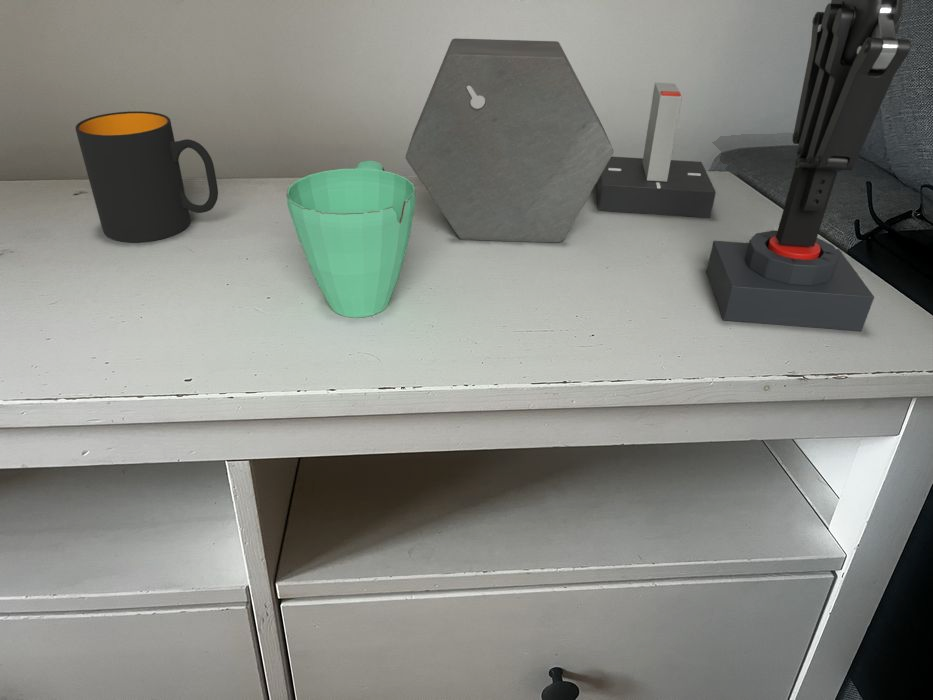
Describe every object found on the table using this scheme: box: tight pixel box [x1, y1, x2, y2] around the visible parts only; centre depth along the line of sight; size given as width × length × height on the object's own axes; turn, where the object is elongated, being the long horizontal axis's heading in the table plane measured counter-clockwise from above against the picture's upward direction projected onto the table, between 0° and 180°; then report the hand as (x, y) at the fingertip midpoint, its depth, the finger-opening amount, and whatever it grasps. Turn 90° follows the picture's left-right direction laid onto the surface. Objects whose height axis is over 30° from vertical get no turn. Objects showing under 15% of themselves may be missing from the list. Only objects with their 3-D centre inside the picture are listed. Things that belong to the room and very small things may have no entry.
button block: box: [706, 230, 875, 332], centre depth 61 cm, size 11×9×5 cm
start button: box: [768, 236, 821, 260], centre depth 60 cm, size 4×4×2 cm
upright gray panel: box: [642, 82, 683, 182], centre depth 79 cm, size 6×2×9 cm, turn 173°
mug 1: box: [75, 110, 219, 244], centre depth 70 cm, size 8×12×10 cm
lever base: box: [596, 156, 717, 219], centre depth 82 cm, size 12×10×3 cm
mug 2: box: [285, 160, 416, 319], centre depth 60 cm, size 15×10×10 cm
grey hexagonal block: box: [405, 37, 615, 243], centre depth 70 cm, size 17×8×21 cm
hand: (794, 241), depth 60 cm, fingers closed
